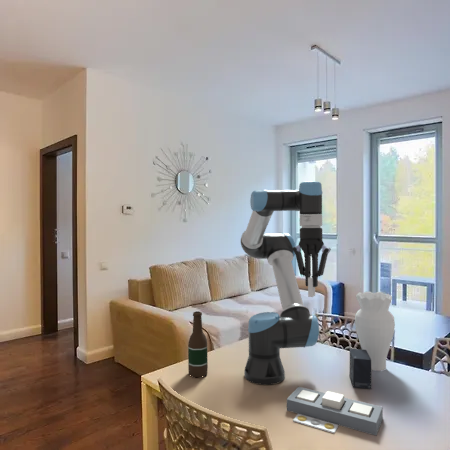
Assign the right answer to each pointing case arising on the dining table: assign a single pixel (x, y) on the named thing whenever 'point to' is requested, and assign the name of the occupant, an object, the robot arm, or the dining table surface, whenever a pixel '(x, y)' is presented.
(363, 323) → the vase
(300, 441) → the dining table surface
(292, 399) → the board
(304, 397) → the button
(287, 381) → the dining table surface
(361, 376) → the small box
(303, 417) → the card
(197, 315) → the beer bottle
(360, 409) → the button
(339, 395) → the button
